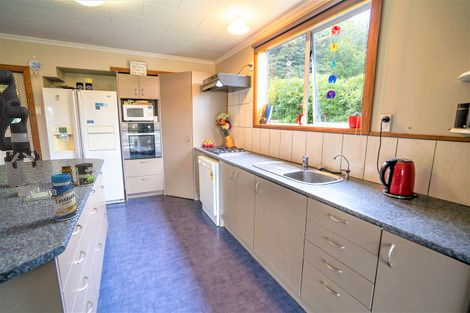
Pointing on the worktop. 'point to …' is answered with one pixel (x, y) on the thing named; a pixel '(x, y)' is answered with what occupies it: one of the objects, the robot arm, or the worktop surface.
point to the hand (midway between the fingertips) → (25, 167)
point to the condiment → (67, 171)
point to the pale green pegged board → (38, 195)
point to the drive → (27, 188)
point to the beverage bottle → (63, 197)
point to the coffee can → (84, 174)
